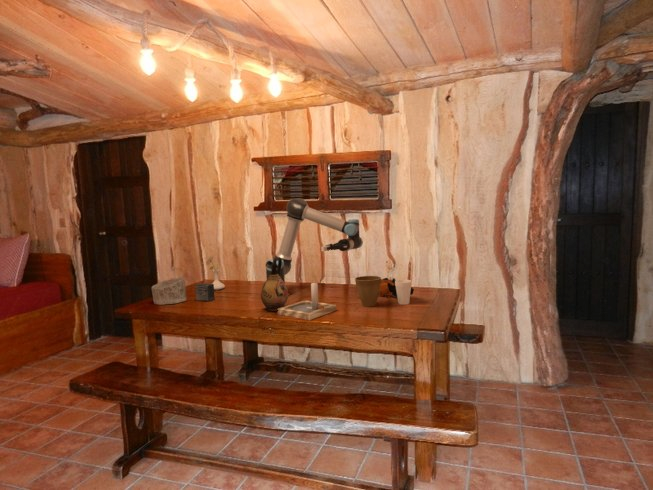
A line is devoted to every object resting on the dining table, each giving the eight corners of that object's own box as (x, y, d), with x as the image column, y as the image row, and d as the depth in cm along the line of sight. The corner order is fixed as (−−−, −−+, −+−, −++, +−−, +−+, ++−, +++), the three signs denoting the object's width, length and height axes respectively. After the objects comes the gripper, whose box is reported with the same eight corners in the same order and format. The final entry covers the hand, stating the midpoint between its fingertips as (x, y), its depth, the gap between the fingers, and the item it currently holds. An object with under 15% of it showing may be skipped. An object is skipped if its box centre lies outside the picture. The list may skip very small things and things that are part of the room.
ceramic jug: (277, 313, 246) (274, 259, 243) (256, 310, 254) (253, 258, 251) (295, 306, 260) (293, 255, 257) (274, 304, 268) (272, 254, 265)
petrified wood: (148, 304, 279) (146, 281, 278) (167, 298, 295) (165, 276, 294) (173, 306, 273) (171, 282, 271) (191, 299, 289) (189, 276, 287)
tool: (402, 312, 267) (410, 290, 261) (372, 294, 279) (379, 272, 274) (409, 308, 273) (416, 287, 268) (379, 291, 285) (386, 270, 280)
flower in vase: (217, 287, 327) (215, 253, 324) (228, 288, 320) (226, 254, 318) (203, 290, 317) (201, 255, 314) (214, 292, 310) (211, 256, 307)
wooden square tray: (277, 314, 245) (277, 305, 244) (305, 305, 263) (304, 296, 262) (309, 320, 231) (309, 310, 230) (336, 310, 249) (336, 301, 248)
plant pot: (383, 302, 263) (382, 275, 261) (380, 308, 248) (379, 280, 247) (357, 301, 266) (357, 275, 264) (353, 308, 252) (352, 280, 250)
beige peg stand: (286, 313, 244) (285, 284, 243) (304, 306, 258) (302, 279, 256) (310, 316, 236) (309, 286, 234) (327, 309, 249) (326, 281, 247)
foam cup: (413, 301, 262) (412, 279, 260) (410, 305, 253) (410, 282, 252) (396, 300, 265) (396, 279, 263) (394, 304, 256) (393, 282, 255)
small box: (215, 299, 287) (214, 283, 286) (208, 301, 281) (207, 285, 280) (202, 298, 291) (201, 282, 290) (195, 300, 285) (194, 284, 284)
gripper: (354, 251, 281) (331, 255, 263) (337, 250, 289) (314, 254, 271) (353, 239, 281) (330, 243, 262) (337, 238, 289) (313, 242, 270)
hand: (322, 249), depth 267 cm, fingers closed
